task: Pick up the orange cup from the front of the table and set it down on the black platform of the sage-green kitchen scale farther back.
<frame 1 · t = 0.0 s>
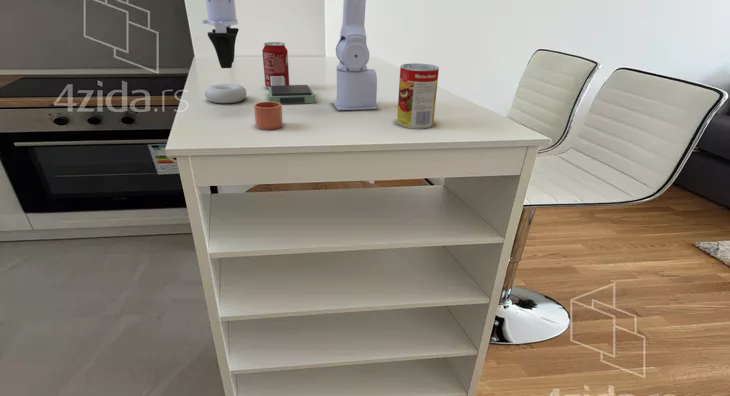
hand: (227, 65, 94), 10 cm above the table, tool pointing down, fingers open, 7 cm apart
canned food: (414, 124, 92), on the table
scale: (291, 98, 110), on the table
soda can: (277, 88, 120), on the table
donut: (226, 100, 106), on the table
orange cup: (269, 126, 87), on the table
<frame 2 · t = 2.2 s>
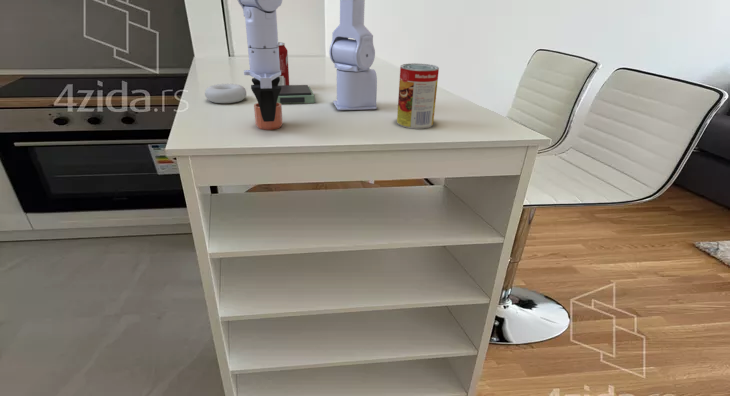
hand: (268, 116, 87), 2 cm above the table, tool pointing down, fingers closed on orange cup, 5 cm apart
orange cup: (269, 126, 87), on the table, touching gripper
everything else where it was.
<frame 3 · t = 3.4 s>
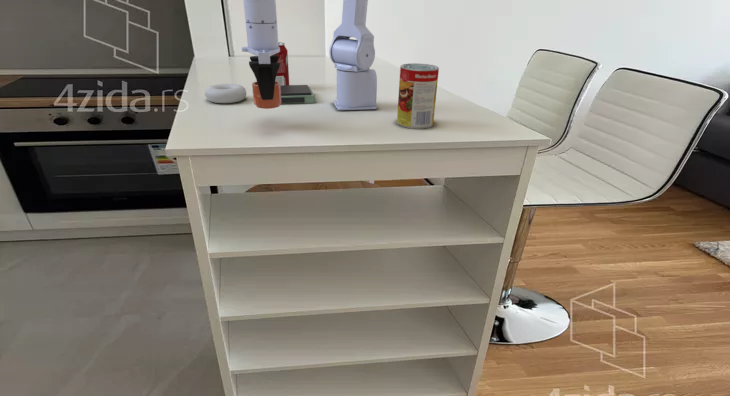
hand: (267, 95, 85), 6 cm above the table, tool pointing down, fingers closed on orange cup, 5 cm apart
orange cup: (268, 105, 86), point 4 cm above the table, touching gripper
everything else where it was.
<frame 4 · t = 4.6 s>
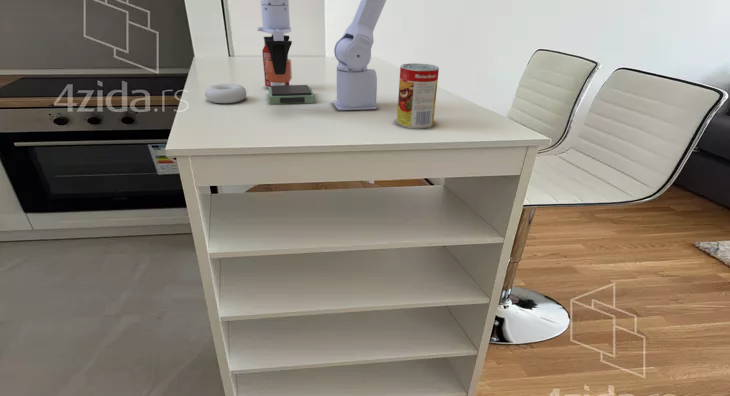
hand: (279, 71, 95), 9 cm above the table, tool pointing down, fingers closed on orange cup, 5 cm apart
orange cup: (279, 80, 96), point 7 cm above the table, touching gripper
everything else where it was.
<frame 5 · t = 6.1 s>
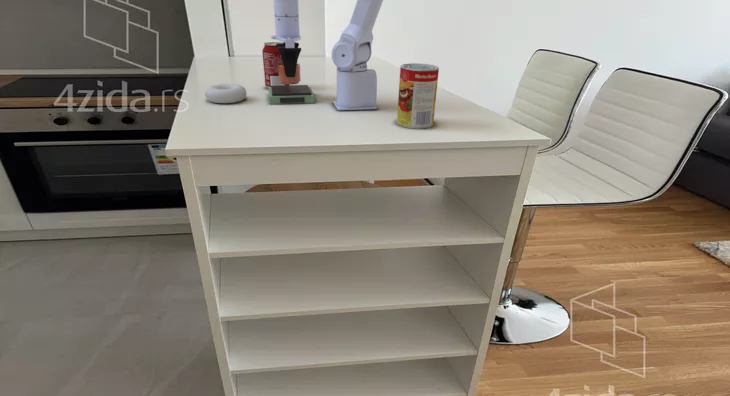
hand: (289, 74, 107), 6 cm above the table, tool pointing down, fingers closed on orange cup, 5 cm apart
orange cup: (289, 82, 108), point 4 cm above the table, touching gripper
everything else where it was.
when the fingers open (4 cm above the table, at t = 7.2 s): orange cup stays where it is, resting on scale.
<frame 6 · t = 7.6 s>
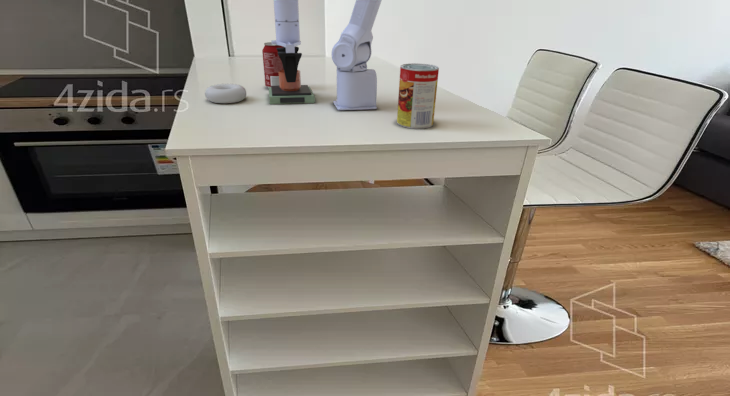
hand: (290, 79, 107), 5 cm above the table, tool pointing down, fingers open, 7 cm apart
orange cup: (290, 89, 109), point 2 cm above the table, touching scale
everything else where it was.
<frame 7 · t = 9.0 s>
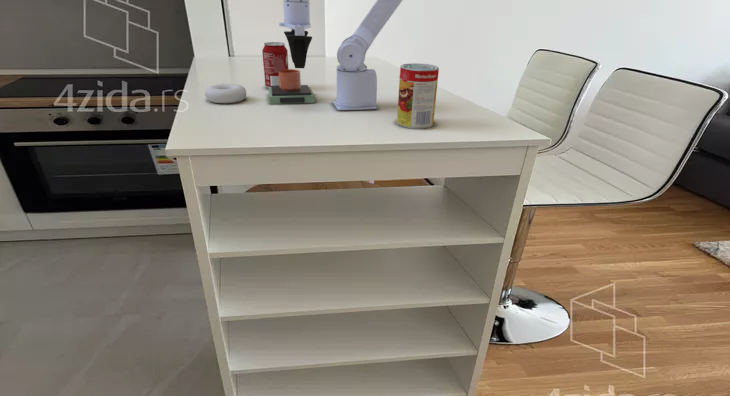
hand: (298, 65, 100), 9 cm above the table, tool pointing down, fingers open, 7 cm apart
nothing on the table moved.
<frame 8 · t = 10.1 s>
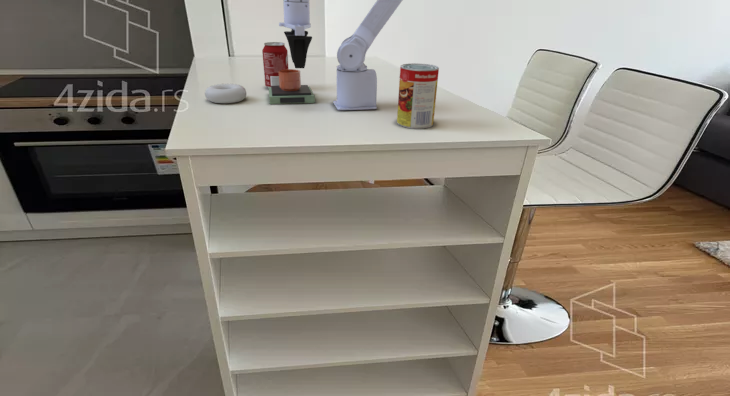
hand: (298, 65, 100), 9 cm above the table, tool pointing down, fingers open, 7 cm apart
nothing on the table moved.
at the end: orange cup inside the target area on the scale (0.1 cm from its centre), point 2.4 cm above the scale's base; orange cup tilted 0°; the gripper is holding nothing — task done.
